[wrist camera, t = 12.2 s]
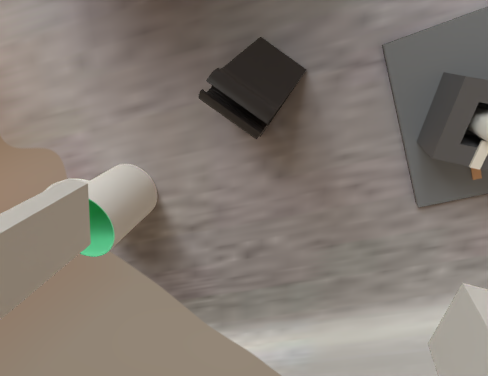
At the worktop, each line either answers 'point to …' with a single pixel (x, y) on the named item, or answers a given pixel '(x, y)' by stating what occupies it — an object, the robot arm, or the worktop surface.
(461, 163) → the gray square frame
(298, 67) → the phone stand
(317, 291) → the worktop surface
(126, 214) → the mug
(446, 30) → the panel
